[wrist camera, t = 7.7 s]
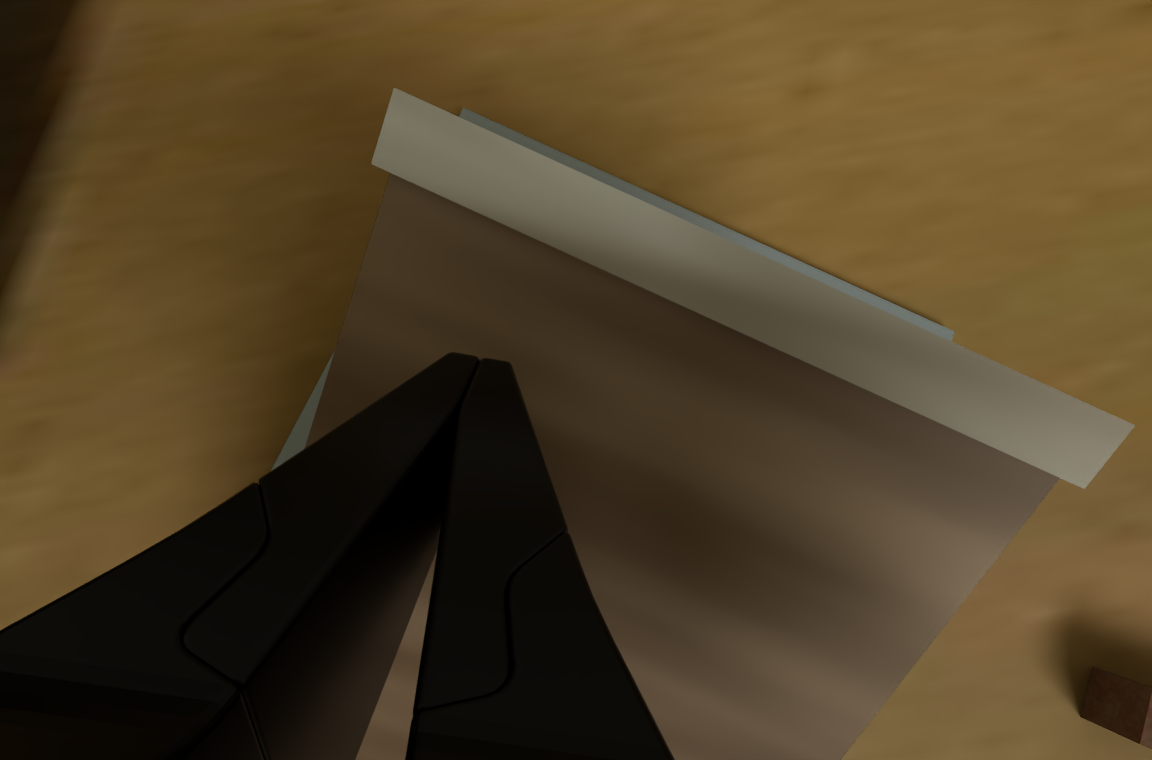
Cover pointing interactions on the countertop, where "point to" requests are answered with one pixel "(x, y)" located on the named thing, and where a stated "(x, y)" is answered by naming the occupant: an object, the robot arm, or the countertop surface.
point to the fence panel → (704, 438)
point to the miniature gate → (1119, 706)
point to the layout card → (305, 420)
